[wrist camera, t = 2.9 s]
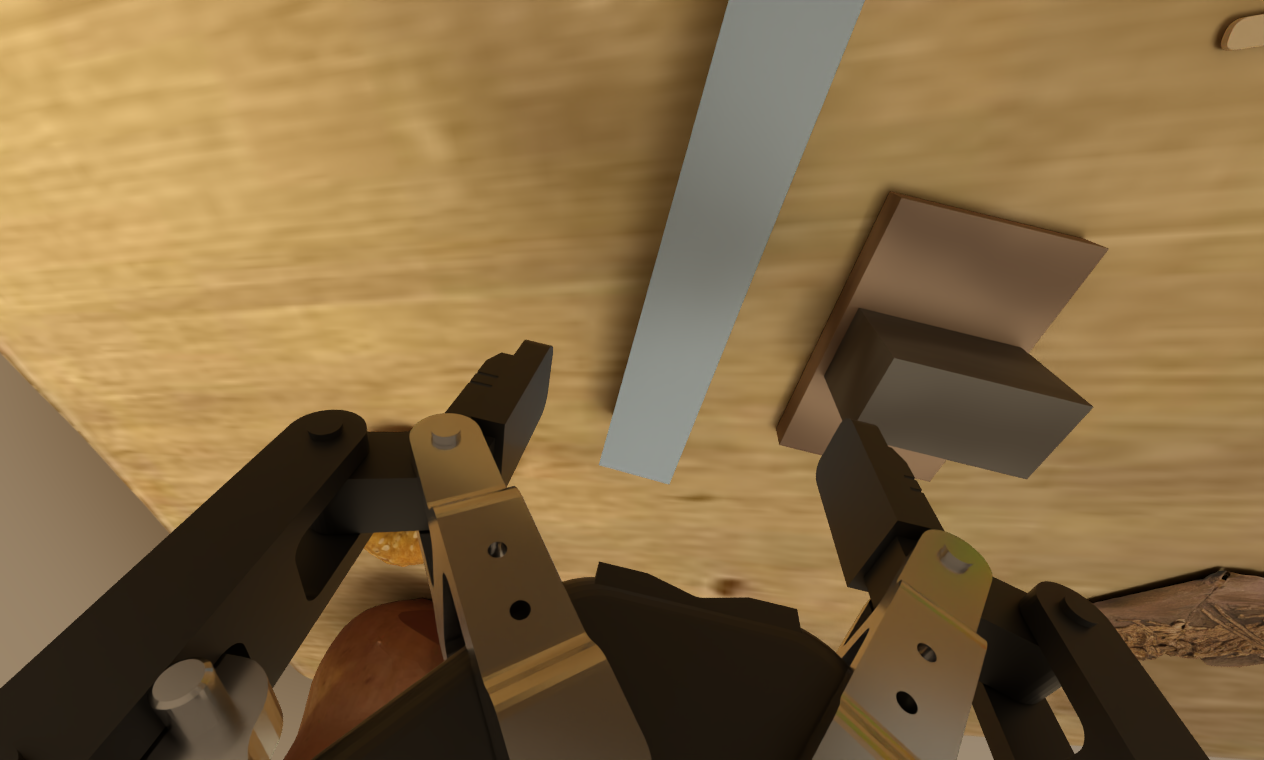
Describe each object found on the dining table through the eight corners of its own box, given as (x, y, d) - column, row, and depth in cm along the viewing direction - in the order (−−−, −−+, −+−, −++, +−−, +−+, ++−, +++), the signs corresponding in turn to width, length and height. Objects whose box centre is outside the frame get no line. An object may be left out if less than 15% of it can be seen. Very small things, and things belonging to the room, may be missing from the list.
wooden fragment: (1002, 656, 38) (1010, 670, 37) (1030, 567, 32) (1039, 581, 32) (1433, 659, 32) (1454, 675, 31) (1554, 552, 27) (1583, 568, 26)
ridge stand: (890, 191, 21) (954, 227, 16) (1085, 239, 21) (1217, 292, 16) (775, 428, 29) (793, 509, 23) (919, 464, 29) (970, 553, 23)
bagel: (505, 467, 34) (478, 519, 30) (451, 544, 39) (423, 596, 35) (374, 396, 32) (326, 441, 28) (338, 488, 37) (294, 536, 33)
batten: (736, -29, 18) (746, -64, 14) (836, 0, 18) (875, -26, 14) (613, 411, 30) (598, 465, 26) (674, 428, 30) (669, 484, 26)
